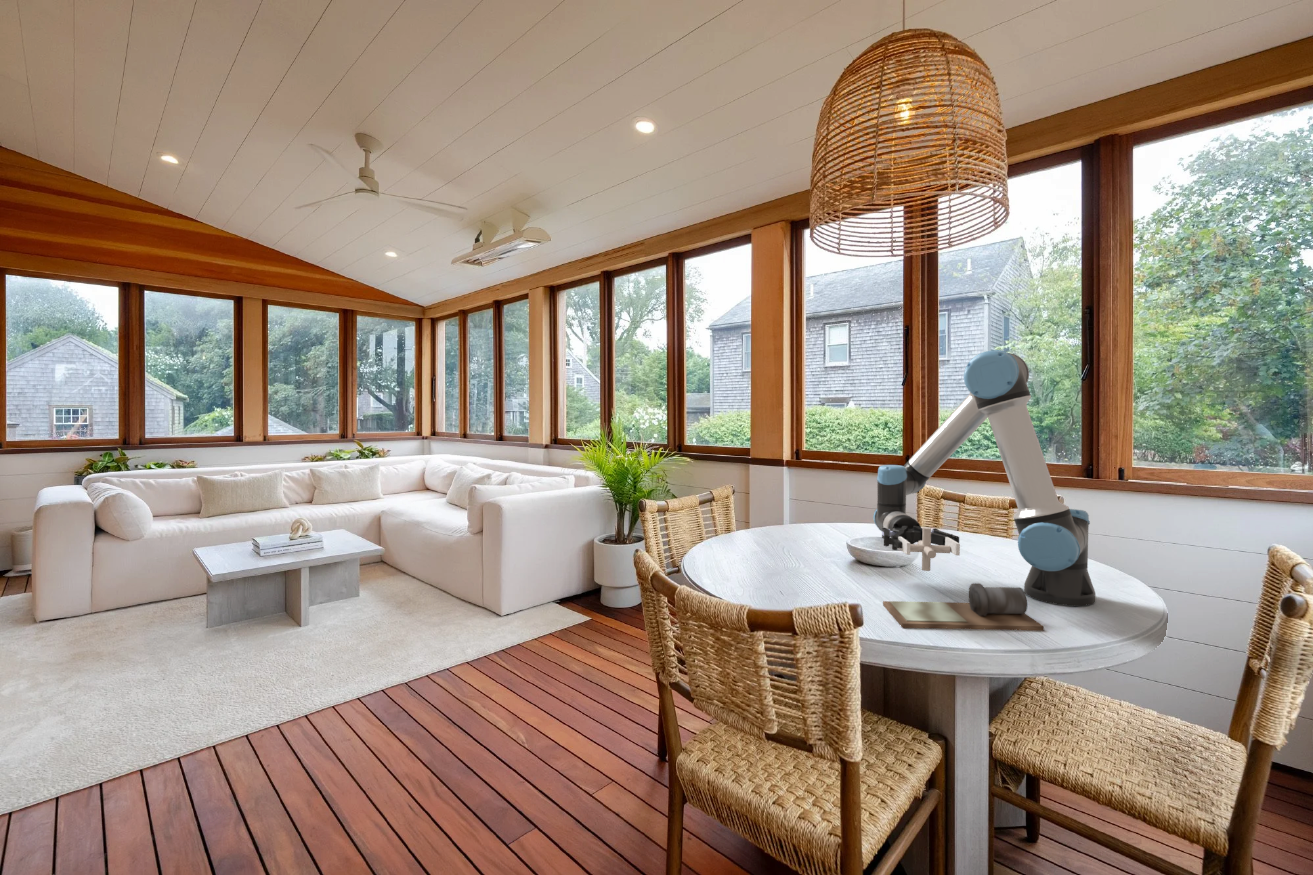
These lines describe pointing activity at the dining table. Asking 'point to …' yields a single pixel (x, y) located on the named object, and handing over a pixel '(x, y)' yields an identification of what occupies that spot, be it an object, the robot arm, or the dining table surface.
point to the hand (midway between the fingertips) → (933, 549)
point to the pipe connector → (928, 548)
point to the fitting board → (969, 611)
